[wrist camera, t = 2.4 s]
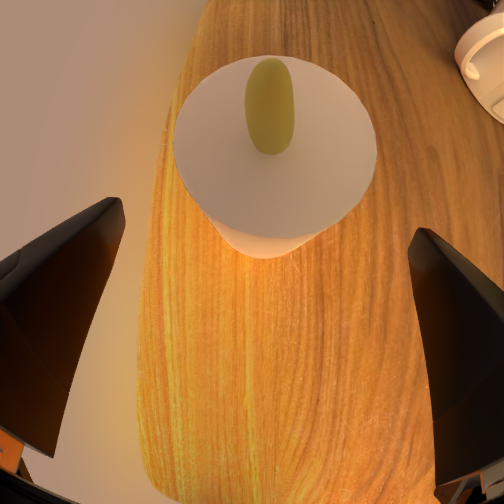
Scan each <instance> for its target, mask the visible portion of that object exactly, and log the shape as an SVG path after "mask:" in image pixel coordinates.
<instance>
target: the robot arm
mask: <svg viewBox="0 0 504 504" xmlns="http://www.w3.org/2000/svg"><path fill="white" fill-rule="evenodd" d="M124 229H125V216H124V211H123V205H122V201H121V199H120V198H116V197H107V198H105V199H103V200H101V201H100V202H98V203H96V204H94V205H92V206H91V207H89V208H87V209H85V210H83V211H81V212H80V213H78V214H76V215H74V216H73V217H71V218H69V219H67V220H66V221H64V222H62V223H61V224H59V225H57V226H56V227H54V228H52V229H51V230H49V231H47V232H46V233H44V234H43V235H41V236H39V237H38V238H36V239H34V240H33V241H31V242H30V243H28V244H27V245H25V246H23V247H22V248H21V249H19V250H17V251H16V252H14V253H13V254H11V255H10V256H8V257H6V258H5V259H4V260H2V261H0V504H79V503H77V502H74V501H72V500H69V499H67V498H65V497H62V496H60V495H57V494H55V493H53V492H50V491H49V490H46V489H44V488H42V487H40V486H38V485H36V484H34V483H33V481H32V479H31V477H30V474H29V472H28V470H27V468H26V466H25V463H24V461H23V459H22V458H21V455H22V451H23V448H24V446H26V447H28V448H30V449H32V450H35V451H37V452H39V453H41V454H44V455H46V456H48V457H50V458H53V457H54V454H55V449H56V444H57V440H58V435H59V431H60V427H61V423H62V419H63V415H64V410H65V407H66V403H67V399H68V396H69V393H68V392H70V388H71V385H72V381H73V377H74V374H75V371H76V368H77V365H78V361H79V358H80V355H81V352H82V349H83V346H84V343H85V340H86V337H87V334H88V331H89V328H90V325H91V323H92V320H93V317H94V314H95V312H96V309H97V306H98V304H99V301H100V298H101V296H102V293H103V291H104V288H105V286H106V283H107V281H108V278H109V276H110V273H111V270H112V267H113V265H114V261H115V258H116V255H117V251H118V248H119V245H120V242H121V238H122V235H123V232H124ZM408 260H409V267H410V274H411V281H412V289H413V296H414V301H415V306H416V311H417V316H418V320H419V326H420V331H421V336H422V342H423V348H424V354H425V360H426V367H427V374H428V381H429V389H430V398H431V407H432V418H433V433H434V450H435V484H436V487H438V486H442V485H446V484H449V483H453V482H456V481H460V480H463V479H466V478H469V477H472V476H475V475H478V474H480V479H481V485H479V486H477V487H474V488H471V489H469V490H466V491H463V492H462V494H461V496H460V497H459V499H458V501H457V502H456V504H504V292H503V291H502V290H501V289H500V288H499V287H498V286H497V285H496V284H495V283H494V282H493V281H491V280H490V279H489V278H488V277H487V276H486V275H485V274H484V273H483V272H481V271H480V270H479V269H478V268H477V267H476V266H475V265H473V264H472V263H471V262H470V261H469V260H468V259H466V258H465V257H464V256H463V255H462V254H461V253H459V252H458V251H457V250H456V249H455V248H453V247H452V246H451V245H450V244H449V243H447V242H446V241H445V240H444V239H442V238H441V237H440V236H439V235H437V234H436V233H435V232H434V231H432V230H431V229H428V228H418V229H417V230H416V232H415V234H414V237H413V239H412V241H411V244H410V246H409V248H408Z"/></svg>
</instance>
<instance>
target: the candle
mask: <svg viewBox="0 0 504 504" xmlns="http://www.w3.org/2000/svg"><path fill="white" fill-rule="evenodd" d="M173 149H174V156H175V162H176V168H177V170H178V172H179V174H180V177H181V179H182V181H183V183H184V185H185V187H186V189H187V191H188V193H189V194H190V195H191V197H192V198H193V199H194V201H195V202H196V203H197V205H198V206H199V207H200V209H201V210H202V211H203V213H204V214H205V215H206V217H207V218H208V219H209V221H210V222H211V223H212V225H213V226H214V227H215V229H216V230H217V231H218V233H219V234H220V235H221V237H222V238H223V239H224V240H225V241H226V242H227V243H228V245H229V246H230V247H232V248H233V249H235V250H236V251H238V252H239V253H241V254H244V255H247V256H250V257H253V258H261V259H270V258H275V257H280V256H283V255H285V254H287V253H289V252H291V251H293V250H295V249H296V248H298V247H299V246H301V245H303V244H304V243H306V242H307V241H309V240H310V239H312V238H314V237H315V236H317V235H318V234H320V233H321V232H323V231H325V230H326V229H328V228H329V227H331V226H332V225H334V224H335V223H337V222H339V221H340V220H341V219H342V218H344V217H345V216H346V215H347V214H348V213H349V212H350V211H351V210H352V209H353V208H354V207H355V206H356V205H357V204H358V203H359V202H360V201H361V199H362V197H363V195H364V194H365V192H366V190H367V188H368V187H369V185H370V183H371V181H372V178H373V174H374V169H375V164H376V160H377V148H376V135H375V131H374V128H373V125H372V123H371V120H370V117H369V114H368V112H367V110H366V109H365V107H364V106H363V104H362V103H361V101H360V100H359V98H358V97H357V95H356V94H355V93H354V91H353V90H351V89H350V88H349V87H348V86H347V85H346V84H345V83H344V82H343V81H342V80H340V79H339V78H338V77H337V76H336V75H334V74H332V73H330V72H329V71H327V70H325V69H323V68H321V67H320V66H318V65H316V64H313V63H310V62H307V61H304V60H300V59H297V58H293V57H286V56H273V55H265V56H257V57H250V58H244V59H241V60H238V61H236V62H233V63H230V64H228V65H225V66H223V67H221V68H219V69H218V70H216V71H215V72H213V73H212V74H210V75H209V76H207V77H206V78H205V79H203V80H202V81H201V82H200V83H199V84H198V85H197V86H196V88H195V89H194V90H193V91H192V92H191V93H190V95H189V96H188V97H187V98H186V100H185V102H184V104H183V106H182V108H181V111H180V113H179V115H178V117H177V119H176V125H175V131H174V138H173Z"/></svg>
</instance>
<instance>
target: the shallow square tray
mask: <svg viewBox="0 0 504 504" xmlns="http://www.w3.org/2000/svg"><path fill="white" fill-rule="evenodd" d="M479 485H481V479H480V474H478V475H475V476H472V477H469V478H466V479H463V480H460V481H456V482H453V483H449V484H446V485H442V486H438V488H437V490H436V491H435V493H434V496H435V497H436V498H437V499H438V500H439V502H440V503H441V504H456V502H457V501H458V499H459V497H460V496H461V494H462V492H463V491H466V490H469V489H471V488H474V487H477V486H479Z"/></svg>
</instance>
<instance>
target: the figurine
mask: <svg viewBox="0 0 504 504" xmlns="http://www.w3.org/2000/svg"><path fill="white" fill-rule="evenodd" d="M482 1H484V3H483V5H482V6H484V7H486V8H487V9H489V10H492V9H493V7H494V6H495V5H496V4H497V3H498V2H499V0H482Z"/></svg>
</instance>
